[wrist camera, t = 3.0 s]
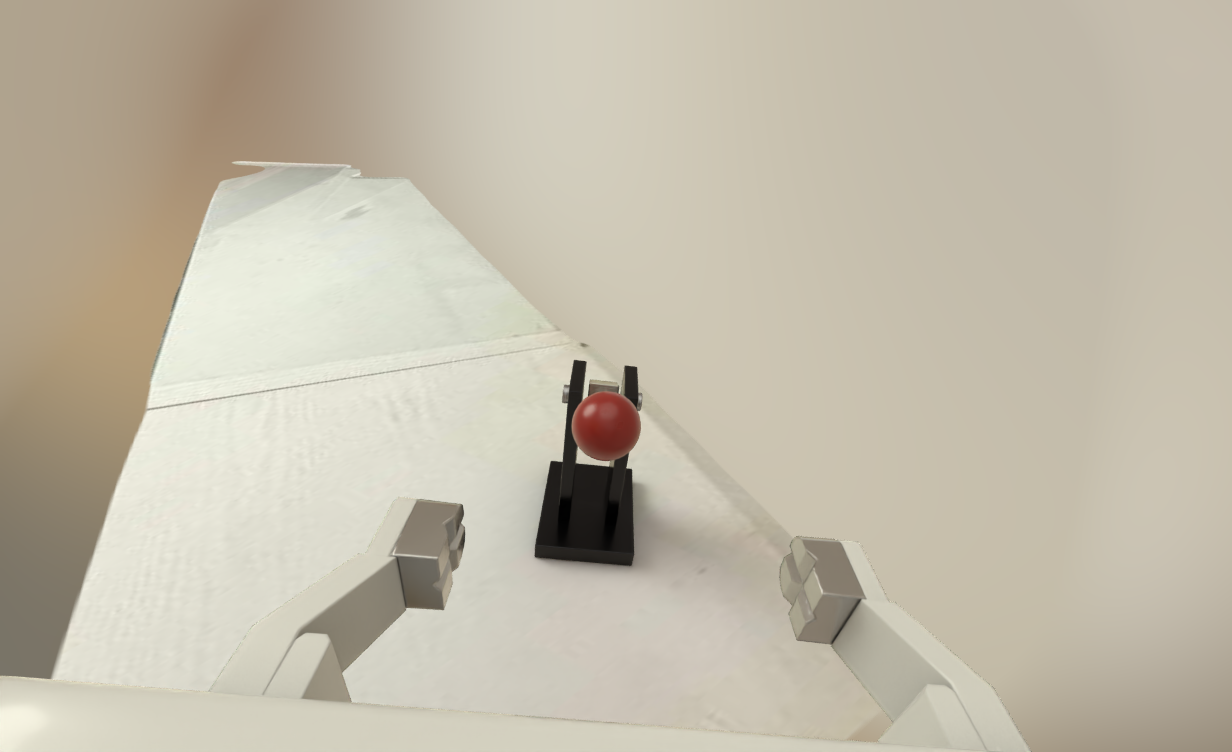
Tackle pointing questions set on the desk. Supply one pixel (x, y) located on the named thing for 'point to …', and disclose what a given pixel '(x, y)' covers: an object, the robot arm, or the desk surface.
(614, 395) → the lever
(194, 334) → the desk surface
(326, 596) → the robot arm
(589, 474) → the black lever base
